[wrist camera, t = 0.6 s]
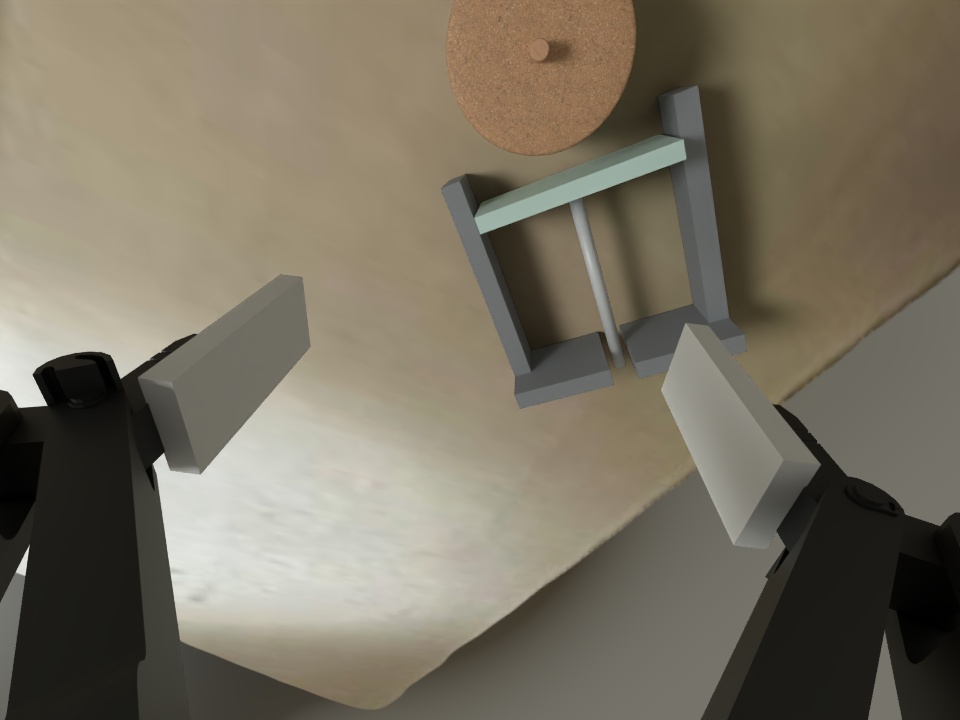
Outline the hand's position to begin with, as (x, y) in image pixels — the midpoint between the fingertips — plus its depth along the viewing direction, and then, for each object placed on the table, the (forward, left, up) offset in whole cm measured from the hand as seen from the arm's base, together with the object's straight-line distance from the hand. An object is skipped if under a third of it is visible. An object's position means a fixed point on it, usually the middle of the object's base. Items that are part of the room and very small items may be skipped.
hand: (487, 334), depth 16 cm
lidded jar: (-8, +5, -25) cm, 27 cm away
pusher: (+7, +5, -24) cm, 25 cm away
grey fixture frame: (+5, +5, -25) cm, 25 cm away
